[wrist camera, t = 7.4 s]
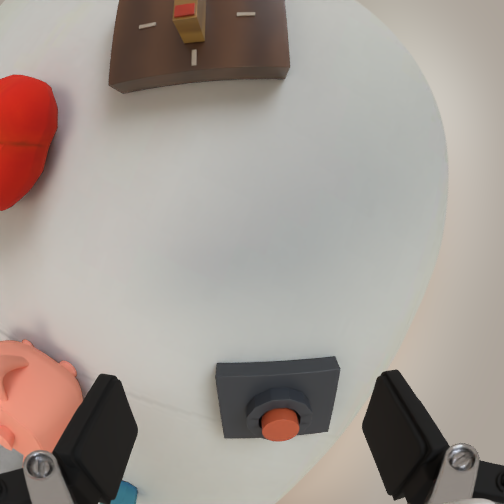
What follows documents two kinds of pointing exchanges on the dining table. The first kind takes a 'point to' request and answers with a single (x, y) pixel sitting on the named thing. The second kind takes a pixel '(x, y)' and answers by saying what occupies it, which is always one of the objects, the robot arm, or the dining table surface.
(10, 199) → the tomato
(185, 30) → the lock knob
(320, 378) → the button box
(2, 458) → the glass holder
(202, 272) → the dining table surface
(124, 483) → the cup
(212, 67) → the plate
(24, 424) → the teapot
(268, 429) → the round orange push button
